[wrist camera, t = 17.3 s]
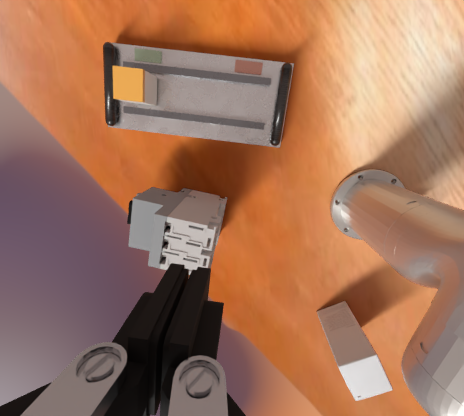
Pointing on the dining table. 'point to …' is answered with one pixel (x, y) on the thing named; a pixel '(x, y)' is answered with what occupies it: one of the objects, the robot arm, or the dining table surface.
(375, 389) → the small box
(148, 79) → the toggle
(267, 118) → the panel
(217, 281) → the dining table surface
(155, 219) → the circuit breaker
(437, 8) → the dining table surface
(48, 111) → the dining table surface
